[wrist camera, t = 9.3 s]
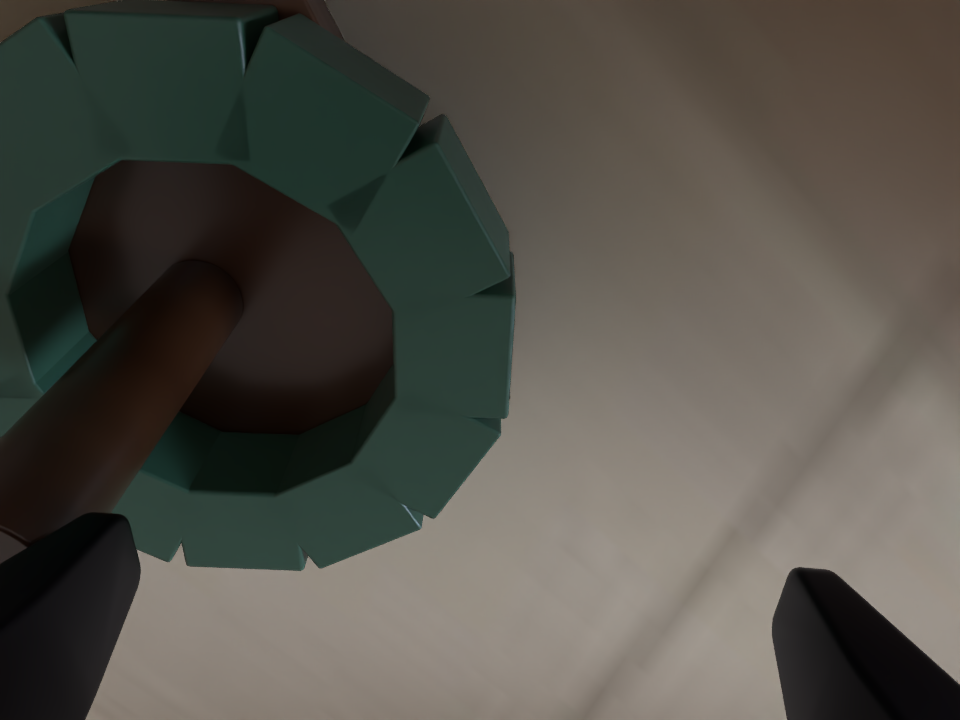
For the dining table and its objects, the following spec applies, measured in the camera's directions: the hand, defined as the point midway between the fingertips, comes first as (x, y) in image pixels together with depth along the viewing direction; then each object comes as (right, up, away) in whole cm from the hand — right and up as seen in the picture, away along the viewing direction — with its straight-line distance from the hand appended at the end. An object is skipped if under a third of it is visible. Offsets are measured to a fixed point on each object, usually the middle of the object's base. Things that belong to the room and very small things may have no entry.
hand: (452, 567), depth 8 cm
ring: (-4, +4, +6) cm, 8 cm away
